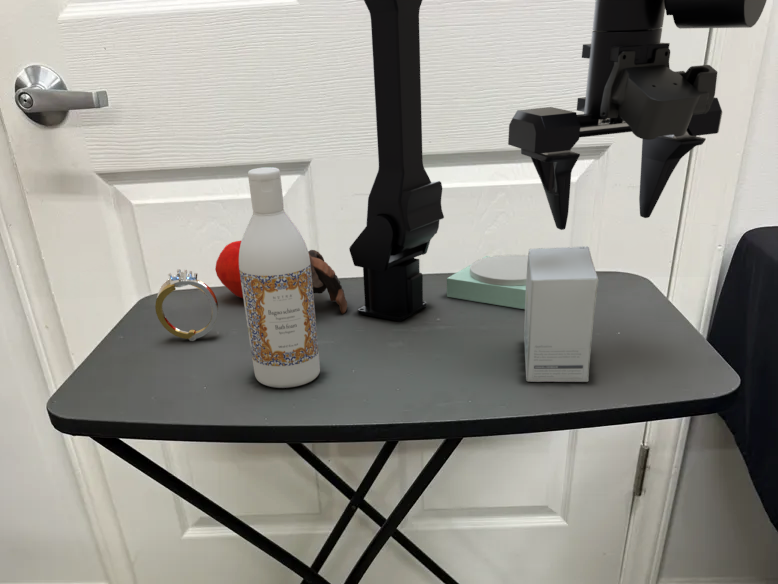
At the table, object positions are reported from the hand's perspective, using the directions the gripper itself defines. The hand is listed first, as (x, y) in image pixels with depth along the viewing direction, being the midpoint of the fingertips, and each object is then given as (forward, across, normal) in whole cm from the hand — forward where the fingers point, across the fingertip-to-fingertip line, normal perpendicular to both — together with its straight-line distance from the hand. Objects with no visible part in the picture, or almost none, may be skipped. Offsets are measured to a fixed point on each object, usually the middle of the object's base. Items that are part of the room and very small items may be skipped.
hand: (603, 222), depth 75 cm
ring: (+14, -39, +23) cm, 48 cm away
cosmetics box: (+14, -4, 0) cm, 14 cm away
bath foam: (+14, -31, +8) cm, 35 cm away
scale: (+14, +2, +22) cm, 26 cm away
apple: (+14, -30, +36) cm, 48 cm away
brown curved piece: (+14, -24, +28) cm, 39 cm away
